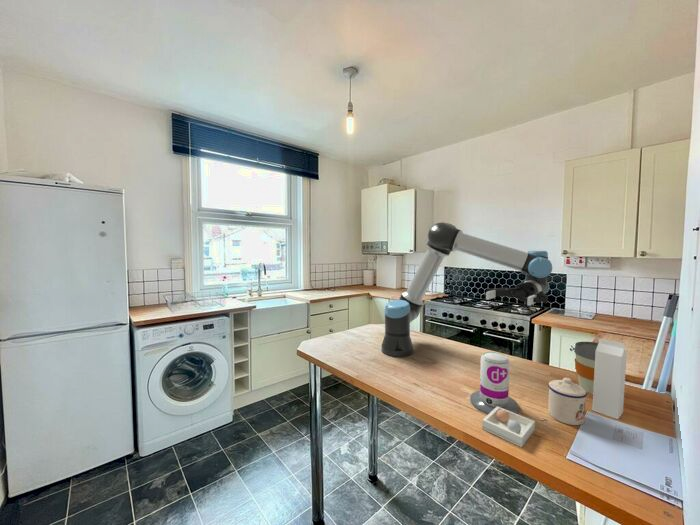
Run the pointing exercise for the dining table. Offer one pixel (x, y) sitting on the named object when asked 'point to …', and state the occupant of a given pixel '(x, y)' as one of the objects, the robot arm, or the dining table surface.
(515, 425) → the ball grey
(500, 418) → the ball terracotta
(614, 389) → the milk
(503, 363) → the supplement can
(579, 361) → the reusable coffee cup
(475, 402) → the slate coaster
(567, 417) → the teacup with lid
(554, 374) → the dining table surface
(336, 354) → the dining table surface
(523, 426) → the ball dish
